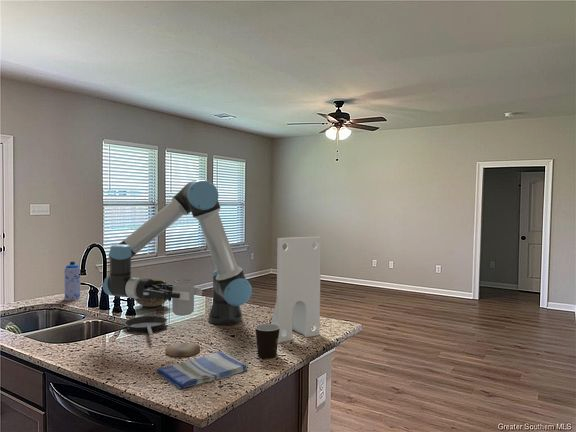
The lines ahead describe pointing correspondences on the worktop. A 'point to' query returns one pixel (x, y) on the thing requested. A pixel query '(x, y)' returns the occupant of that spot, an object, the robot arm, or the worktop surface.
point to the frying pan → (145, 323)
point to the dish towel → (202, 370)
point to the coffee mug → (267, 340)
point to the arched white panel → (298, 287)
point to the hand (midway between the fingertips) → (195, 293)
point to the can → (183, 305)
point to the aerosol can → (72, 282)
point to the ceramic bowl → (152, 300)
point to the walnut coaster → (182, 349)
